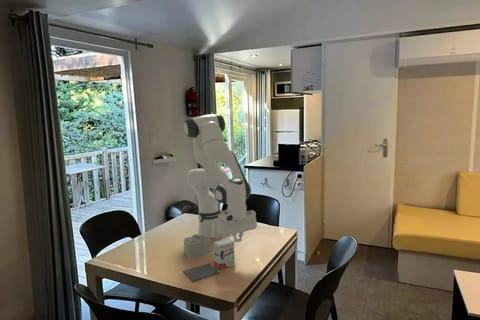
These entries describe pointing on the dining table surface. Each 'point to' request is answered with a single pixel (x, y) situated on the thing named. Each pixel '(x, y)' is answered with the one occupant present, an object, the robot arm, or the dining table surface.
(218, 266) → the ink box
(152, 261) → the dining table surface
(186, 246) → the grey chunky block
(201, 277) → the mat
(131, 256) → the dining table surface
